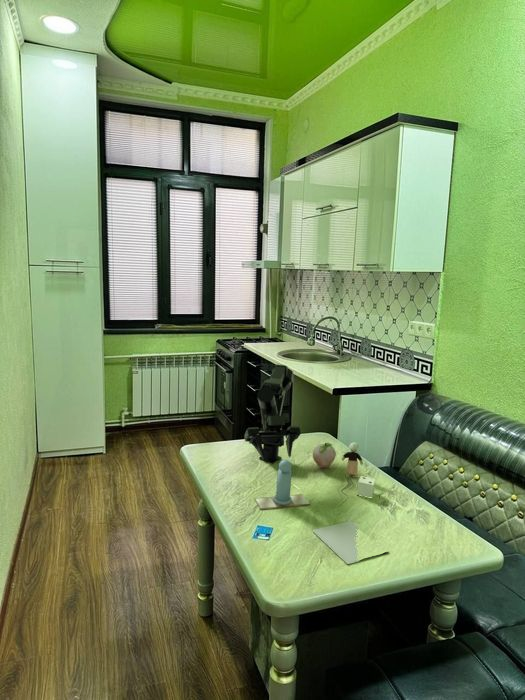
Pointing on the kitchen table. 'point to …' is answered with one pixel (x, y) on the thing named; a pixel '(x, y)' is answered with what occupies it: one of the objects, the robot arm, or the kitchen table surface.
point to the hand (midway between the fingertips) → (276, 457)
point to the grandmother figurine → (352, 460)
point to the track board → (270, 504)
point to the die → (366, 486)
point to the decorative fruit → (324, 455)
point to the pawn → (283, 483)
